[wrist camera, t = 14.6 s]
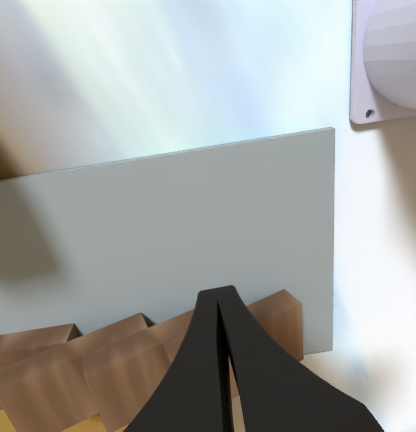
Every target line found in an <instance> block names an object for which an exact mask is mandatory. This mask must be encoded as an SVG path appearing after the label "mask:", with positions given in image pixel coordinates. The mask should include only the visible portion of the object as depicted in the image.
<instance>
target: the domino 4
mask: <svg viewBox="0 0 416 432" xmlns="http://www.w3.org/2000/svg"><path fill="white" fill-rule="evenodd" d="M246 307H247V308H248V309H249V311H250V312H251V313H252V315H253V316H254V317H255V318H256V320H257V321H258V322H259V323H260V325H261V326H262V327H263V328H264V329H265V330H266V331H267V332H268V333H269V335H270V336H271V337H272V338H273V339H274V340H275V341H276V342H277V343H278V344H279V345H280V346H281V347H283V348H284V349H285V350H286V351H287V352H288V353H289V354H290V355H291V356H293V357H294V358H295V359H296V360H297V361H301V360H303V333H302V305H301V302H300V301H298V300H297V299H296V298H295V297H294V296H292V295H291V294H290V293H289V292H287V291H286V290H285V289H283V290H281V291H279V292H276V293H274V294H272V295H270V296H268V297H265V298H263V299H261V300H259V301H256V302H254V303H252V304H250V305H247V306H246ZM185 334H186V333H185ZM185 334H183V335H181V336H178V337H176V338H174V339H172V340H169V341H167V342H165V343H163V344H162V345H163V349H164V352H165V356H166V360H167V364H168V368H169V367H170V365H171V363H172V362H173V360H174V358H175V356H176V354H177V352H178V350H179V347H180V345H181V343H182V341H183V339H184V336H185ZM229 369H230V385H231V398H233V397H235V396H237V395H239V392H238V388H237V385H236V381H235V377H234V373H233V370H232V366H231V362H230V358H229Z"/></svg>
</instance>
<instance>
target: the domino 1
mask: <svg viewBox="0 0 416 432" xmlns="http://www.w3.org/2000/svg"><path fill="white" fill-rule="evenodd" d="M78 337H80V336H79V334H78V331H77V329H76V326H75V324H74V323H71V324H65V325H58V326H52V327H46V328H40V329H34V330H27V331H21V332H15V333H9V334H3V335H0V369H1V368H3V367H6V366H8V365H11V364H13V363H16V362H18V361H21V360H23V359H26V358H28V357H31V356H33V355H36V354H38V353H41V352H43V351H46V350H48V349H51V348H53V347H56V346H58V345H61V344H63V343H66V342H68V341H71V340H73V339H76V338H78ZM2 409H3V407H2V406H1V404H0V410H2Z"/></svg>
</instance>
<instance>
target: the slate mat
mask: <svg viewBox="0 0 416 432" xmlns="http://www.w3.org/2000/svg"><path fill="white" fill-rule="evenodd" d="M334 171H335V129H334V128H332V127H327V128H321V129H315V130H309V131H302V132H296V133H290V134H284V135H277V136H271V137H265V138H258V139H252V140H246V141H240V142H233V143H227V144H221V145H215V146H208V147H202V148H196V149H189V150H183V151H177V152H171V153H164V154H158V155H152V156H146V157H139V158H133V159H127V160H120V161H114V162H108V163H102V164H95V165H89V166H83V167H77V168H70V169H64V170H58V171H51V172H45V173H39V174H33V175H26V176H20V177H14V178H8V179H1V180H0V335H3V334H9V333H15V332H21V331H27V330H34V329H40V328H46V327H52V326H58V325H65V324H71V323H74V324H75V326H76V329H77V331H78V334H79V336H80V337H81V336H83V335H86V334H88V333H90V332H93V331H95V330H98V329H100V328H103V327H105V326H108V325H110V324H113V323H115V322H118V321H120V320H123V319H125V318H128V317H130V316H133V315H135V314H138V313H140V312H141V313H142V316H143V318H144V320H145V322H146V325H147V327H148V328H149V327H152V326H154V325H156V324H159V323H161V322H164V321H166V320H168V319H171V318H173V317H176V316H178V315H180V314H183V313H185V312H187V311H190V310H192V309H194V308H195V305H196V301H197V295H198V293H199V292H200V291H202V290H207V289H213V288H218V287H223V286H229V285H233V286H235V287H236V290H237V292H238V294H239V296H240V297H241V299H242V301H243V302H244V304H245V305H246V306H247V305H250V304H252V303H254V302H256V301H259V300H261V299H263V298H265V297H268V296H270V295H272V294H274V293H276V292H279V291H281V290H283V289H285V290H286V291H287V292H289V293H290V294H291V295H292V296H294V297H295V298H296V299H297V300H298V301H300V302H301V305H302V333H303V355H307V354H313V353H319V352H325V351H331V350H332V347H333V259H334Z"/></svg>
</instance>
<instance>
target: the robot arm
mask: <svg viewBox="0 0 416 432" xmlns="http://www.w3.org/2000/svg"><path fill="white" fill-rule="evenodd" d="M368 110H371V115H370V116H369V117H368V118H366V112H367V111H368ZM410 116H416V0H353V25H352V60H351V95H350V119H351V121H352V122H353V123H355V124H367V123H373V122H379V121H385V120H392V119H398V118H404V117H410ZM229 358H230V362H231V366H232V370H233V373H234V377H235V381H236V385H237V388H238V392H239V396H240V400H241V406H242V412H243V418H244V424H245V431H246V432H384V430H383V429H382V427H381V426H380V424H379V423H378V422H377V420H376V419H375V418H374V416H373V415H372V414H371V413H370V411H369V410H368V409H367V408H366V406H365V405H364V404H363V403H361V402H359V401H357V400H355V399H354V398H352V397H350V396H348V395H347V394H345V393H343V392H341V391H340V390H338V389H336V388H335V387H333V386H332V385H330V384H329V383H327V382H326V381H324V380H323V379H321V378H320V377H318V376H317V375H316V374H314V373H313V372H312V371H310V370H309V369H308V368H306V367H305V366H304V365H302V364H301V363H300V362H299V361H297V360H296V359H295V358H294V357H293V356H291V355H290V354H289V353H288V352H287V351H286V350H285V349H284V348H283V347H281V346H280V345H279V344H278V343H277V342H276V341H275V340H274V339H273V338H272V337H271V336H270V335H269V333H268V332H267V331H266V330H265V329H264V328H263V327H262V326H261V325H260V323H259V322H258V321H257V320H256V318H255V317H254V316H253V315H252V313H251V312H250V311H249V309H248V308H247V307H246V305H245V304H244V302H243V301H242V299H241V297H240V296H239V294H238V292H237V290H236V287H235V286H233V285H229V286H223V287H218V288H213V289H207V290H202V291H200V292H199V293H198V295H197V301H196V305H195V308H194V312H193V315H192V318H191V321H190V323H189V326H188V329H187V332H186V334H185V336H184V339H183V341H182V343H181V345H180V347H179V350H178V352H177V354H176V356H175V358H174V360H173V362H172V363H171V365H170V367H169V369H168V370H167V372H166V374H165V376H164V377H163V379H162V380H161V382H160V383H159V385H158V387H157V388H156V390H155V391H154V393H153V394H152V395H151V397H150V398H149V400H148V401H147V402H146V404H145V405H144V406H143V407H142V409H141V410H140V411H139V413H138V414H137V415H136V417H135V418H134V419H133V420H132V422H131V423H130V424H129V425H128V426H127V428H126V429H125V430H124V431H123V432H234V425H233V415H232V401H231V385H230V369H229Z"/></svg>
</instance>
